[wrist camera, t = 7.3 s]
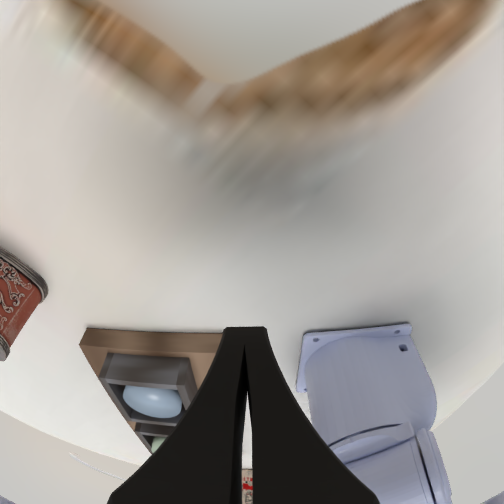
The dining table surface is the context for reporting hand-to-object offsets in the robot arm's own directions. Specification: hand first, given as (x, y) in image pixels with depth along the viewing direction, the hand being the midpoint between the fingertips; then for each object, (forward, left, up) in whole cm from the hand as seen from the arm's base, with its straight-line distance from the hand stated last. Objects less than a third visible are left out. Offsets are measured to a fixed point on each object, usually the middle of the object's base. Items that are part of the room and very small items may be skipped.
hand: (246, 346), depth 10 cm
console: (+8, +22, -9) cm, 25 cm away
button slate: (+8, +13, -7) cm, 17 cm away
